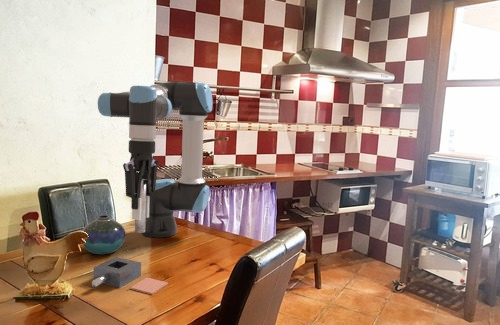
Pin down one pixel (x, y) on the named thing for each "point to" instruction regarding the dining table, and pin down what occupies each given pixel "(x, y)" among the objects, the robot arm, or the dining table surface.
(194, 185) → the robot arm
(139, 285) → the mat
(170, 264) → the dining table surface
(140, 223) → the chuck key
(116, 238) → the vase
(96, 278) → the chuck block
